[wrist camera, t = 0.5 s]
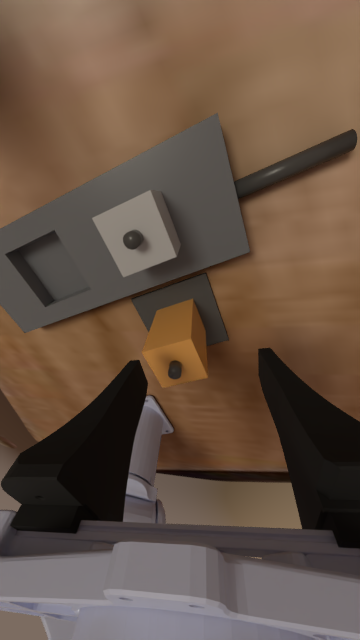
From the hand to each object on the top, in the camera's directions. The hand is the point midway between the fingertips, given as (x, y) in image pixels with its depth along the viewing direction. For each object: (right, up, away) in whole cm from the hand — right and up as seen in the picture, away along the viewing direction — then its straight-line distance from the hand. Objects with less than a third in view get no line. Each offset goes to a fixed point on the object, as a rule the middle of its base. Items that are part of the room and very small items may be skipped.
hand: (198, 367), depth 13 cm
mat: (-1, +3, +10) cm, 11 cm away
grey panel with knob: (-4, +11, +6) cm, 13 cm away
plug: (-1, +3, +10) cm, 10 cm away
